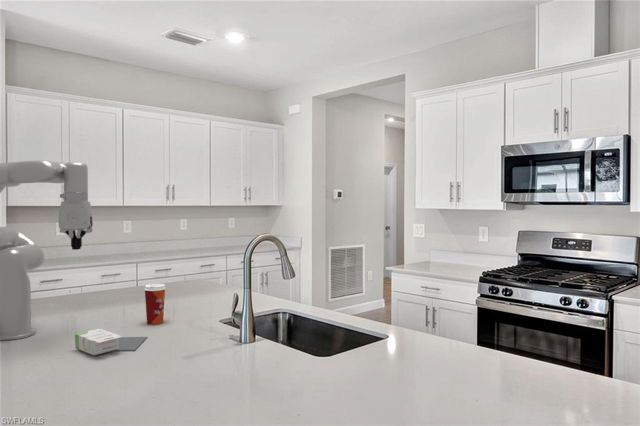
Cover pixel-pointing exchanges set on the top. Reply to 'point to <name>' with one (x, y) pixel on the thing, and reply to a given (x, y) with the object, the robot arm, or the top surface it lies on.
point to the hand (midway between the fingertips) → (76, 249)
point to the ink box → (96, 341)
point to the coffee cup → (154, 303)
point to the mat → (129, 343)
